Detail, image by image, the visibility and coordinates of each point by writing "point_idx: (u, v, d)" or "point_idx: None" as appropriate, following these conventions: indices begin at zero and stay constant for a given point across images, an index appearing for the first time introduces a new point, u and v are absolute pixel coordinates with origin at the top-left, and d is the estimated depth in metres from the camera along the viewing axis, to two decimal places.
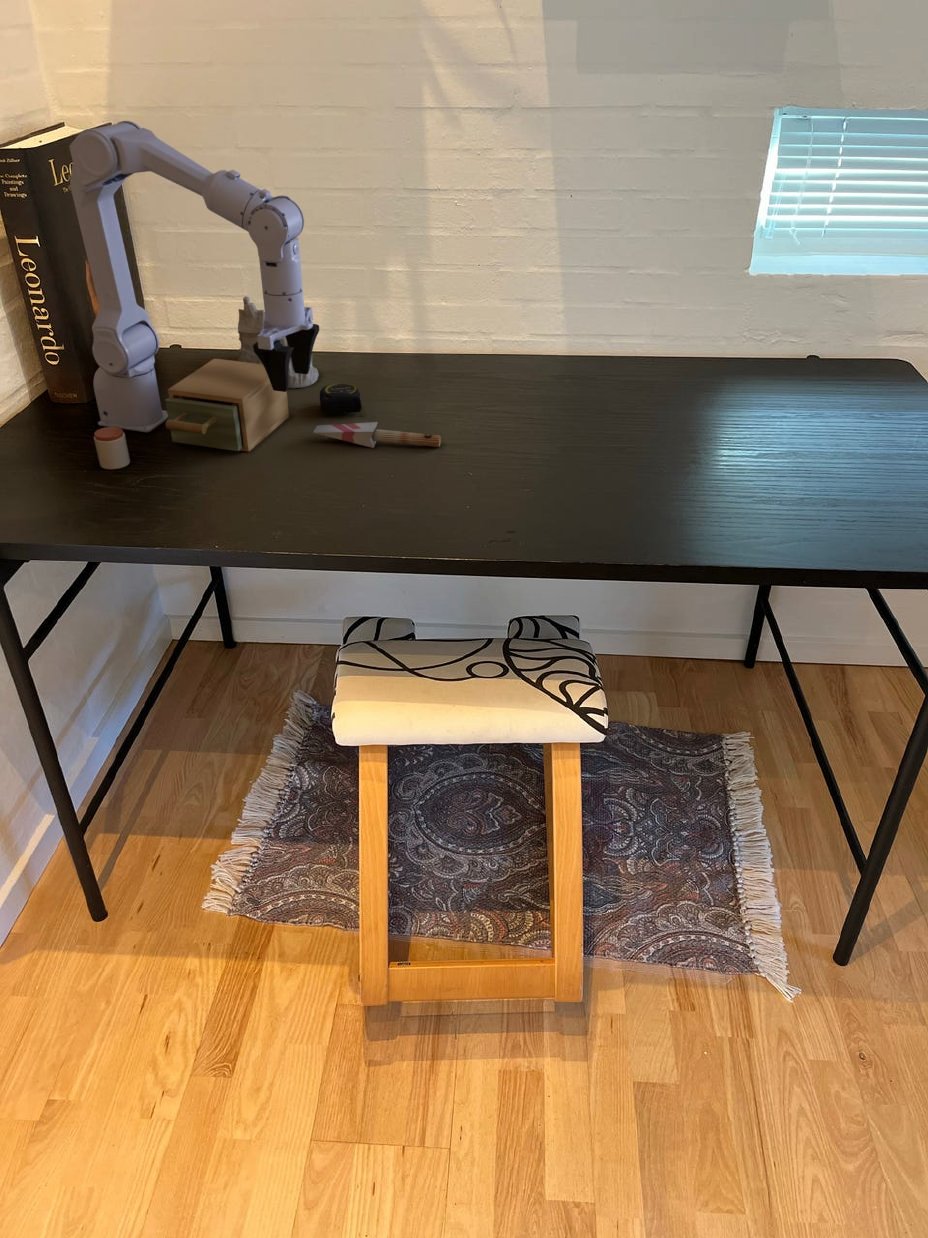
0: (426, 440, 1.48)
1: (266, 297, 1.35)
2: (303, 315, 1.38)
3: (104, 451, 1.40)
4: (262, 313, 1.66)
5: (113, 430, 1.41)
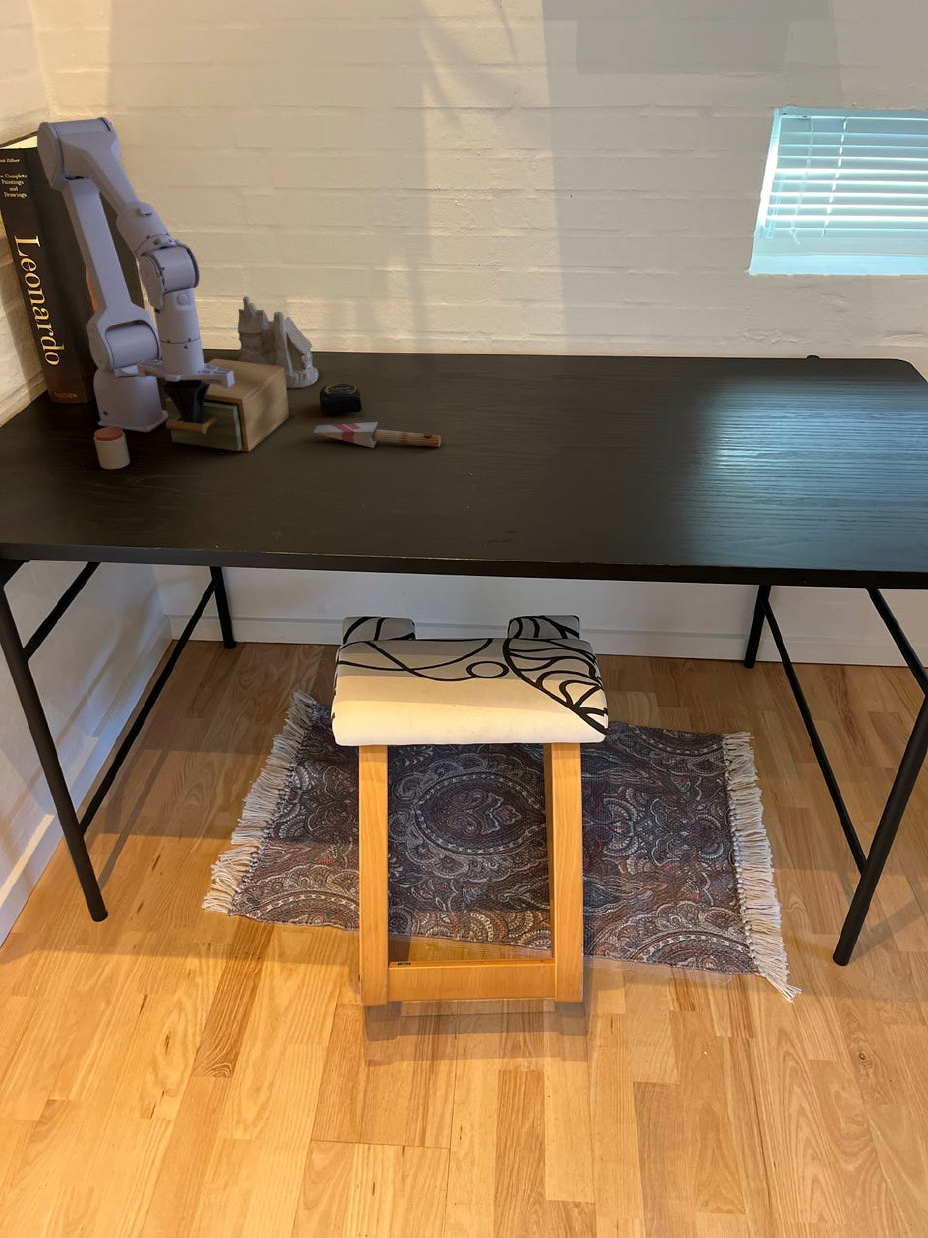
0: (426, 440, 1.48)
1: None
2: (174, 367, 1.34)
3: (104, 451, 1.40)
4: (262, 313, 1.66)
5: (113, 430, 1.41)
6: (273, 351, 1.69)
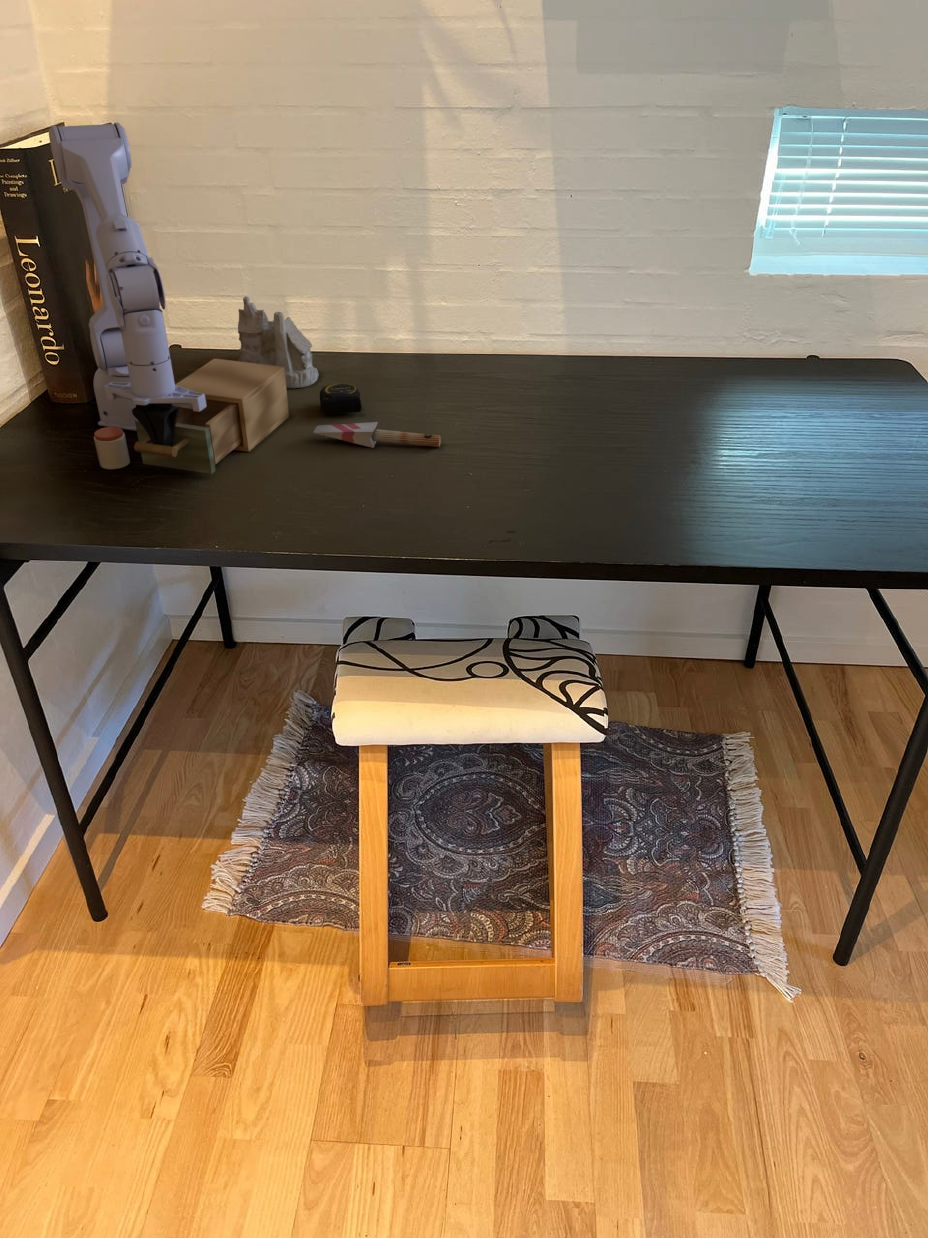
0: (426, 440, 1.48)
1: None
2: (143, 390, 1.28)
3: (104, 451, 1.40)
4: (262, 313, 1.66)
5: (113, 430, 1.41)
6: (273, 351, 1.69)
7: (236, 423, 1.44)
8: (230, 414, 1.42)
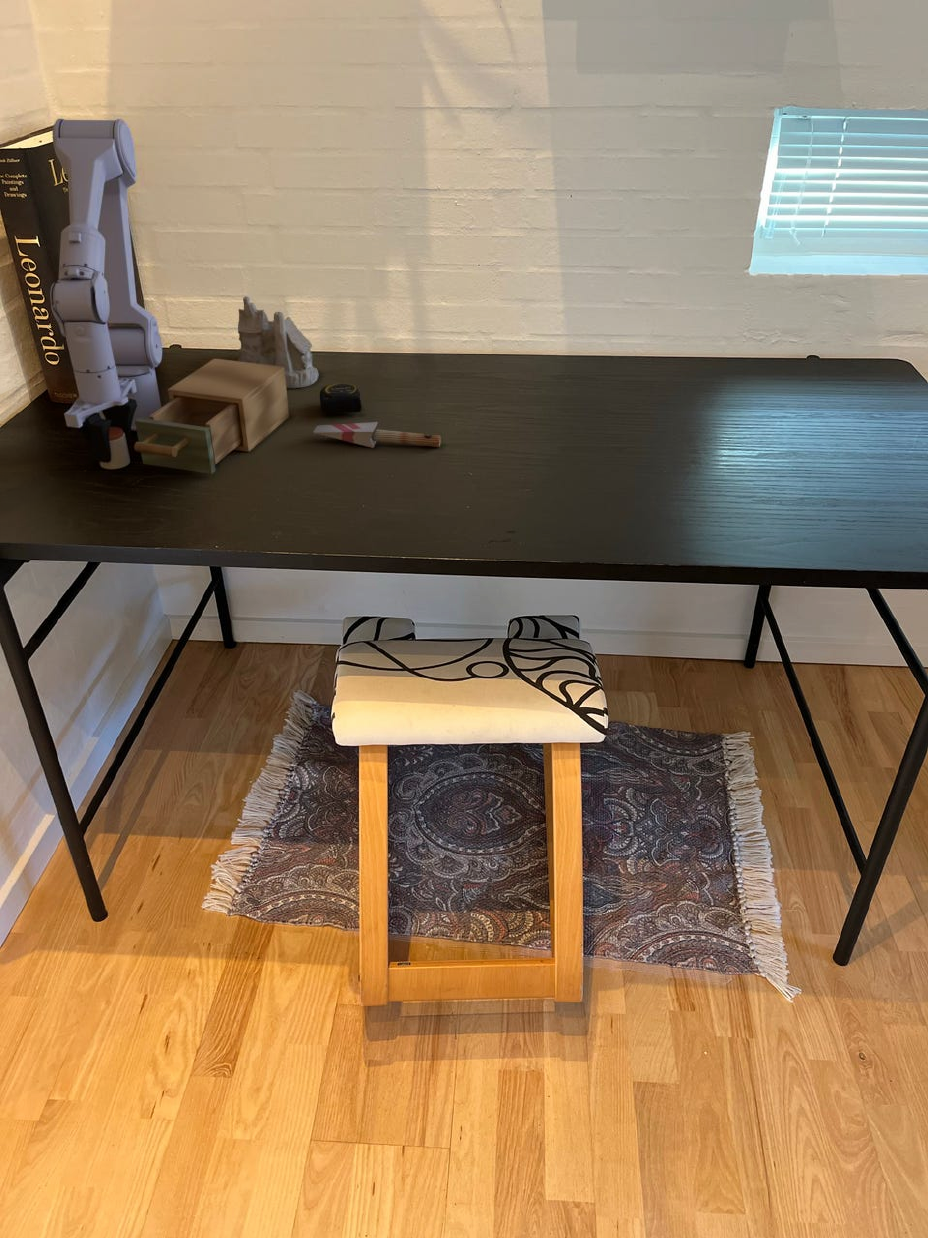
0: (426, 440, 1.48)
1: (75, 374, 1.33)
2: (117, 390, 1.36)
3: None
4: (262, 313, 1.66)
5: (113, 430, 1.41)
6: (273, 351, 1.69)
7: (236, 423, 1.44)
8: (230, 414, 1.42)
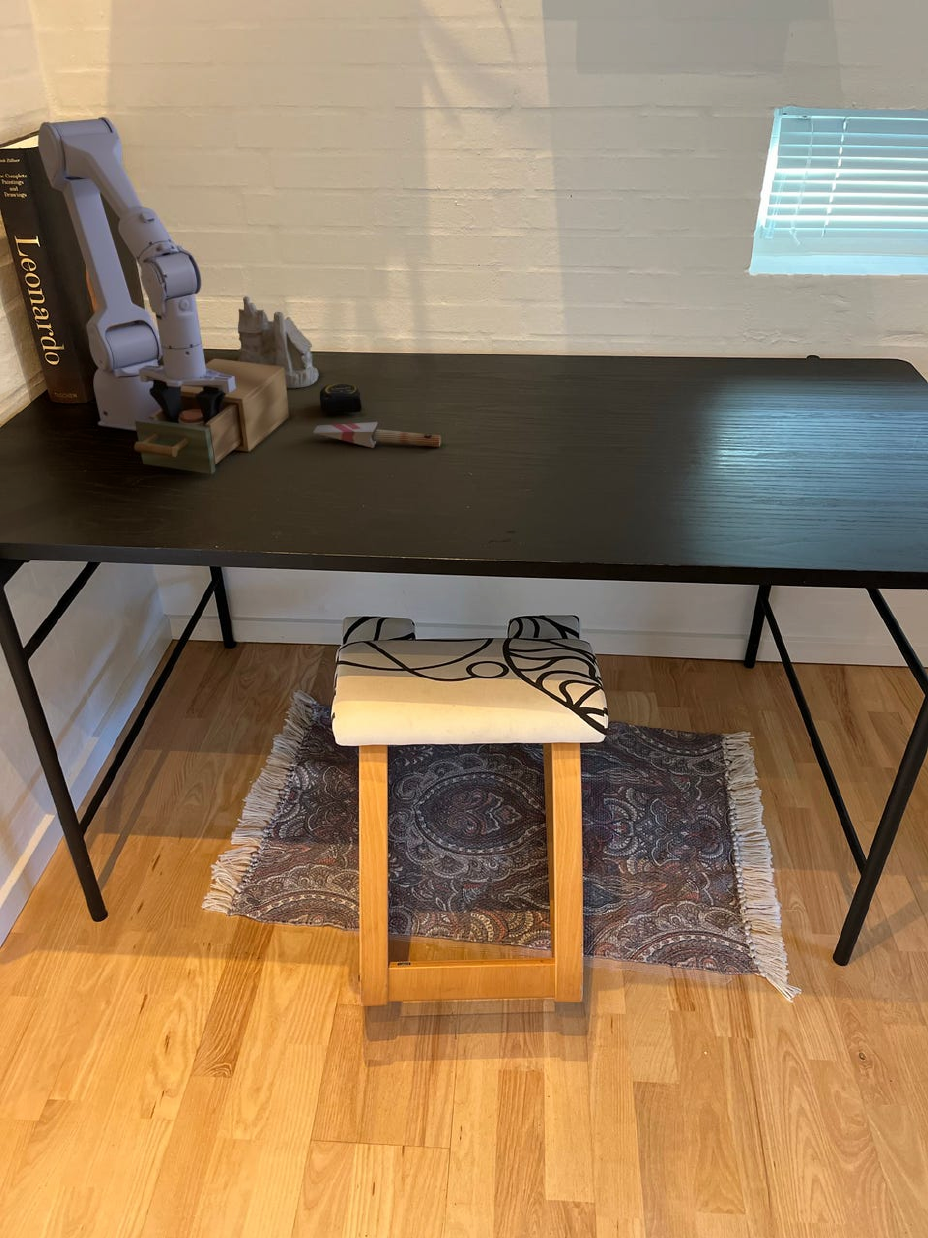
0: (426, 440, 1.48)
1: None
2: (176, 372, 1.35)
3: None
4: (262, 313, 1.66)
5: (196, 415, 1.41)
6: (273, 351, 1.69)
7: (236, 423, 1.44)
8: (230, 414, 1.42)
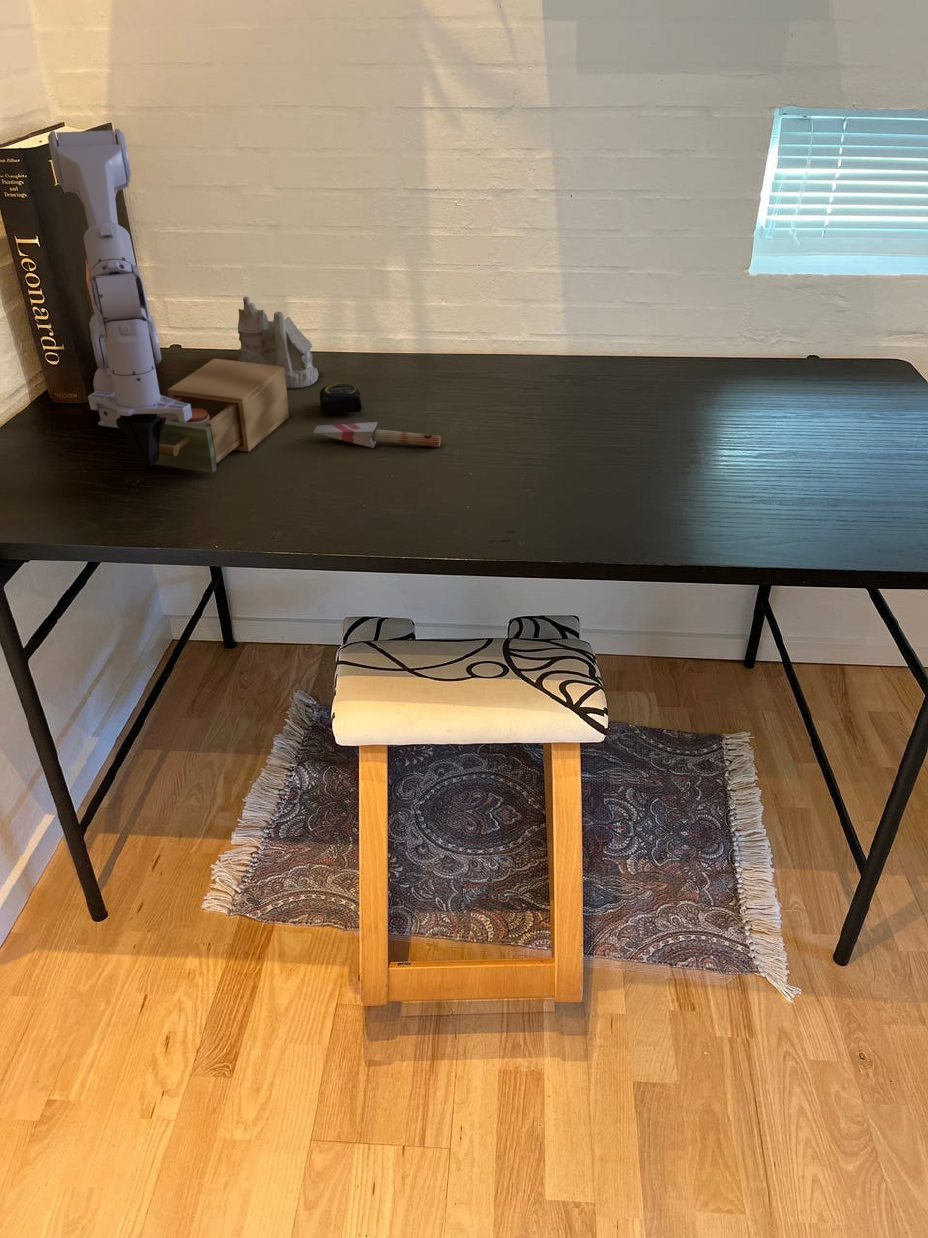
0: (426, 440, 1.48)
1: None
2: (127, 400, 1.25)
3: None
4: (262, 313, 1.66)
5: (197, 414, 1.41)
6: (273, 351, 1.69)
7: (237, 422, 1.45)
8: (231, 413, 1.42)
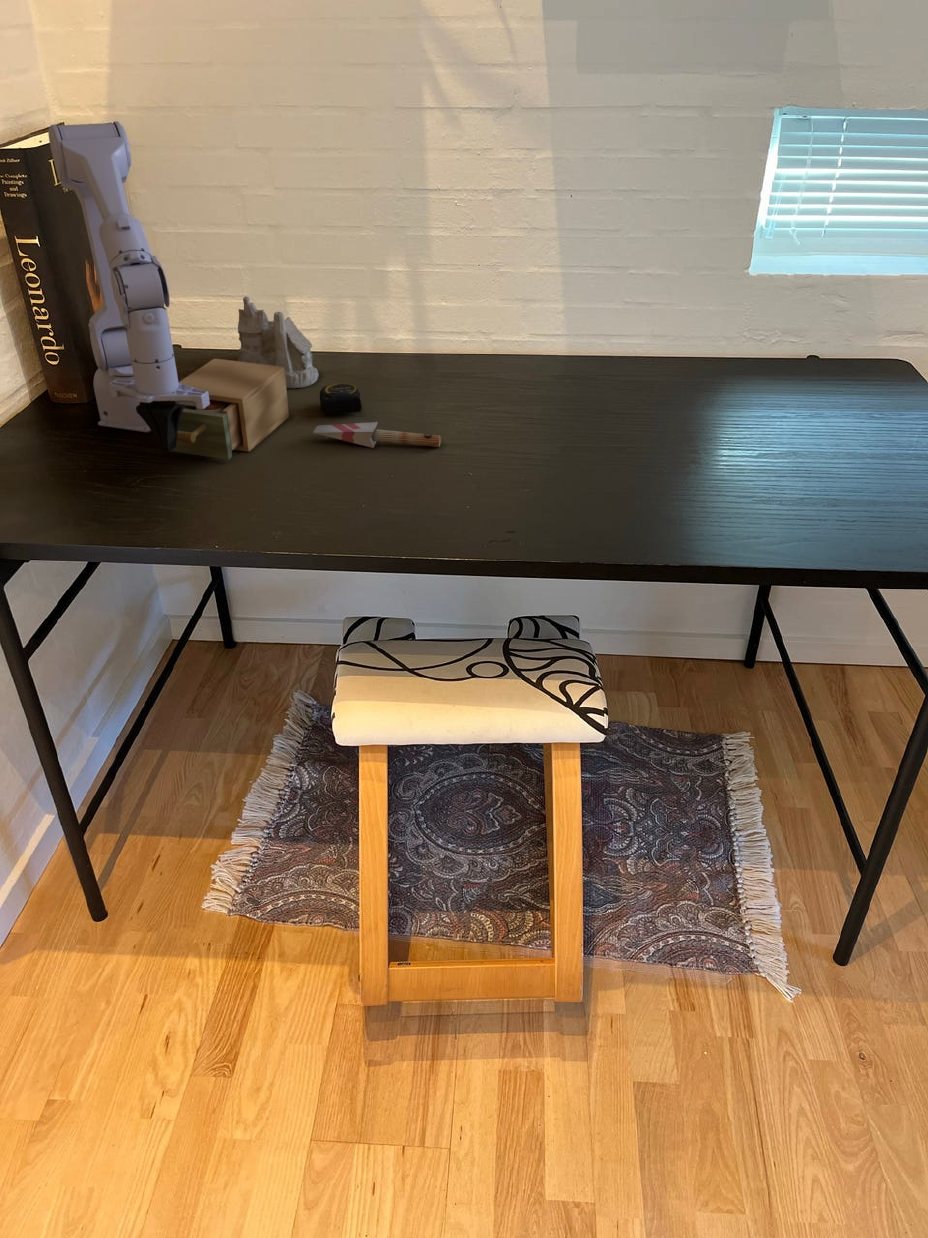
0: (426, 440, 1.48)
1: None
2: (147, 388, 1.29)
3: None
4: (262, 313, 1.66)
5: (213, 403, 1.45)
6: (273, 351, 1.69)
7: None
8: None
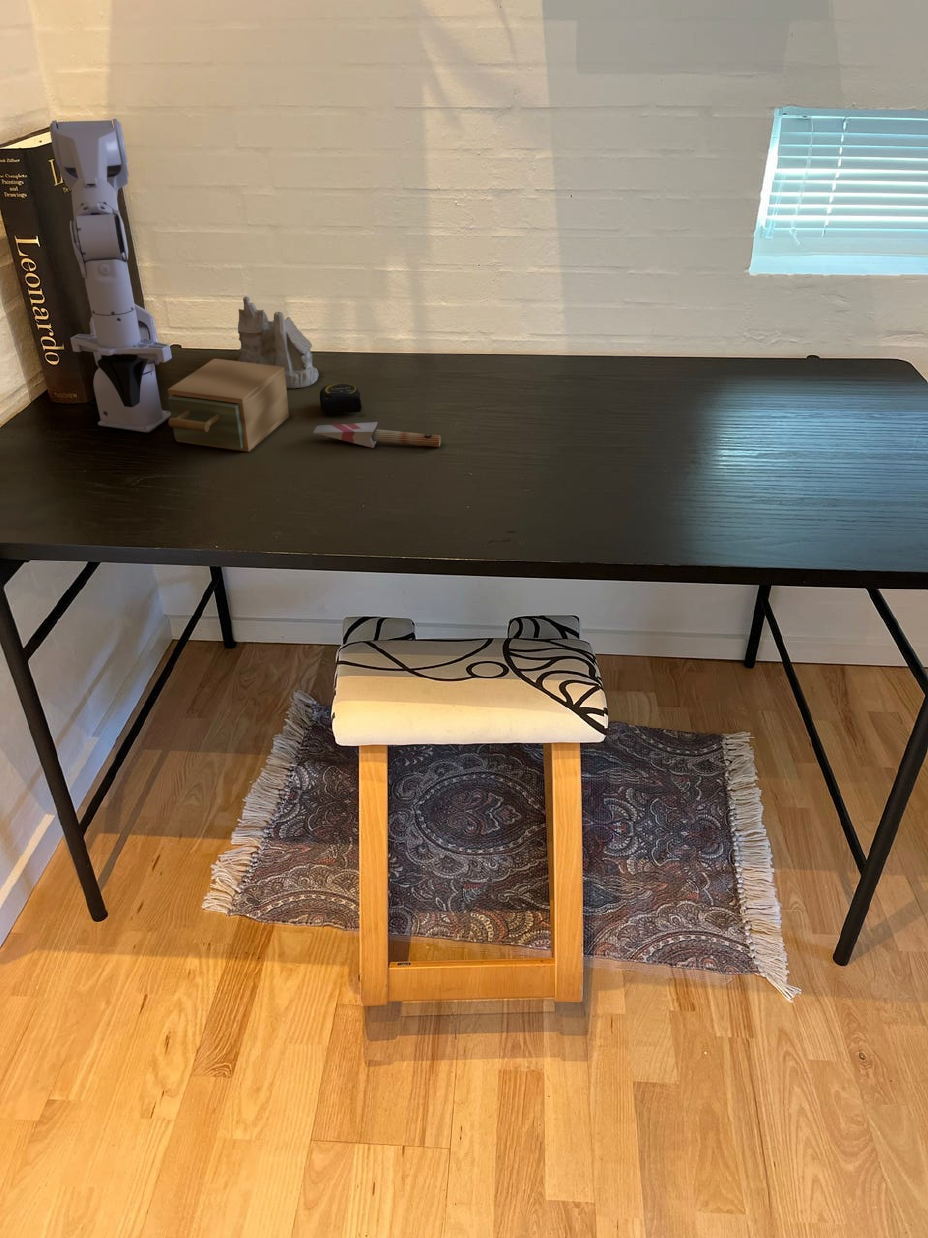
0: (426, 440, 1.48)
1: None
2: (107, 340, 1.28)
3: None
4: (262, 313, 1.66)
5: None
6: (273, 351, 1.69)
7: None
8: None
